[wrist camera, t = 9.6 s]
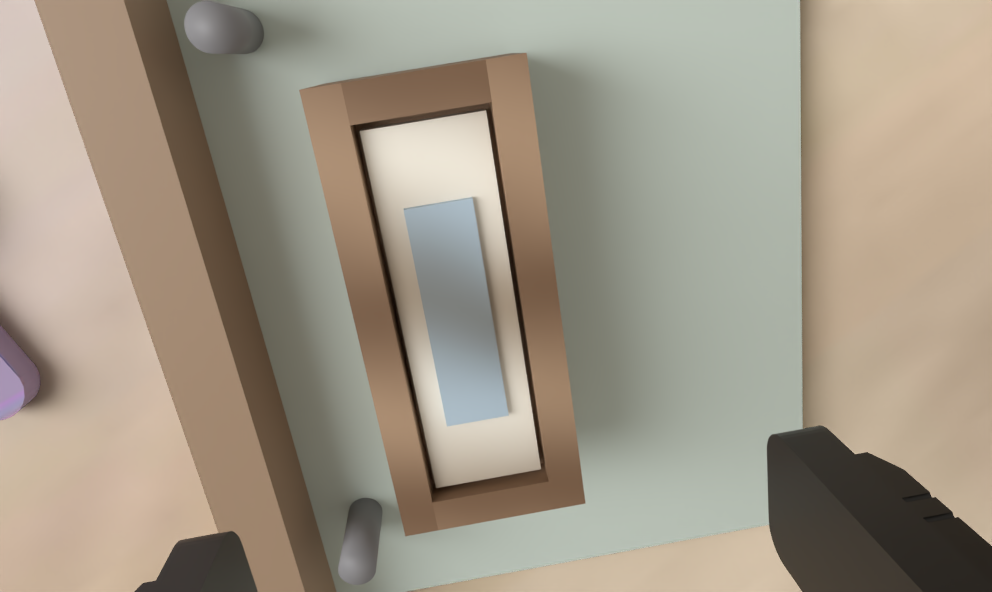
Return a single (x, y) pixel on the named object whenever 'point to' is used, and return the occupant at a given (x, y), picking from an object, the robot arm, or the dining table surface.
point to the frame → (452, 286)
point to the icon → (15, 377)
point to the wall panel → (575, 243)
